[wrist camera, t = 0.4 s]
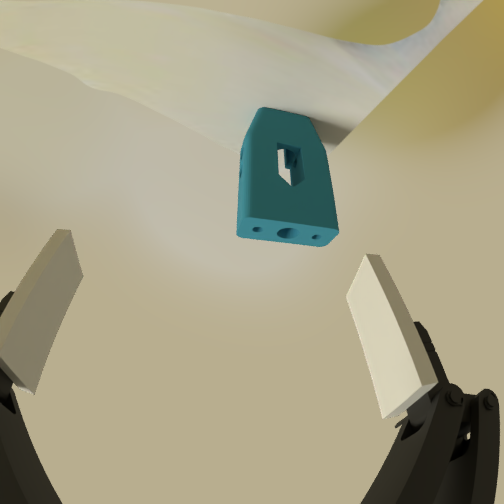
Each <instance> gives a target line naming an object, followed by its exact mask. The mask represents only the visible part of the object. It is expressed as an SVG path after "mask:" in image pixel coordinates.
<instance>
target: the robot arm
mask: <svg viewBox="0 0 504 504" xmlns="http://www.w3.org/2000/svg"><path fill="white" fill-rule="evenodd" d="M82 278H83V273H82V270H81V267H80V264H79V260H78V256H77V253H76V249H75V246H74V242H73V238H72V235H71V230H62V229H57V230H56V231H55V233H54V234H53V235H52V237H51V238H50V240H49V241H48V242H47V244H46V245H45V246H44V248H43V249H42V251H41V252H40V254H39V255H38V256H37V258H36V259H35V261H34V263H33V264H32V265H31V267H30V268H29V270H28V271H27V273H26V275H25V276H24V278H23V279H22V281H21V283H20V284H19V286H18V287H17V289H16V291H15V292H12V291H10V292H9V293H8V294H7V295H6V296H5V297H4V298H3V299H2V300H1V302H0V504H62V502H61V501H60V499H59V497H58V495H57V493H56V492H55V490H54V488H53V486H52V485H51V483H50V481H49V479H48V477H47V475H46V473H45V471H44V469H43V466H42V464H41V463H40V460H39V458H38V456H37V454H36V451H35V449H34V446H33V444H32V442H31V439H30V437H29V434H28V431H27V429H26V427H25V423H24V421H23V418H22V415H21V412H20V409H19V406H18V403H17V400H16V396H15V393H14V391H13V389H12V388H11V387H12V384H13V383H14V384H15V385H16V386H17V387H18V388H19V389H20V390H23V391H26V392H28V393H31V394H34V395H35V392H36V388H37V385H38V382H39V380H40V376H41V374H42V371H43V368H44V365H45V363H46V360H47V357H48V355H49V352H50V349H51V347H52V344H53V342H54V339H55V337H56V334H57V332H58V330H59V327H60V325H61V323H62V320H63V318H64V316H65V314H66V311H67V309H68V307H69V305H70V303H71V301H72V298H73V296H74V294H75V292H76V290H77V288H78V286H79V284H80V282H81V280H82ZM346 299H347V301H348V304H349V307H350V310H351V313H352V316H353V319H354V322H355V325H356V328H357V332H358V335H359V338H360V341H361V344H362V347H363V351H364V354H365V357H366V360H367V364H368V367H369V371H370V374H371V378H372V381H373V385H374V389H375V392H376V396H377V399H378V403H379V407H380V411H381V415H382V419H386V418H391V417H395V416H399V415H400V414H401V413H403V412H404V411H405V410H407V413H408V416H406V417H405V418H404V419H402V420H401V421H400V422H398V423H397V424H396V426H395V428H397V427H399V426H400V425H402V426H401V428H400V431H399V433H398V435H397V437H396V439H395V442H394V444H393V446H392V448H391V450H390V452H389V454H388V456H387V458H386V460H385V462H384V464H383V466H382V468H381V470H380V471H379V473H378V475H377V477H376V478H375V480H374V482H373V484H372V485H371V487H370V489H369V491H368V492H367V494H366V496H365V497H364V499H363V501H362V502H361V504H494V501H495V493H496V486H497V477H498V466H499V446H500V419H499V418H500V416H499V403H498V399H497V396H496V394H495V393H494V392H493V391H491V390H490V389H484V390H482V391H481V392H480V393H478V394H477V395H470V394H464V393H463V392H462V390H461V389H460V388H459V387H458V386H457V385H455V384H452V383H451V384H450V383H449V381H448V379H447V377H446V374H445V371H444V369H443V366H442V364H441V362H440V359H439V357H438V354H437V352H435V348H434V345H433V344H432V343H431V342H432V341H431V339H430V337H429V334H428V332H427V330H426V329H425V328H424V327H423V326H422V325H421V323H420V322H413V320H412V318H411V316H410V314H409V312H408V310H407V308H406V306H405V304H404V302H403V299H402V297H401V295H400V293H399V291H398V289H397V287H396V285H395V283H394V282H393V280H392V278H391V276H390V274H389V272H388V270H387V268H386V266H385V264H384V263H383V261H382V259H381V257H380V255H373V254H365V256H364V258H363V260H362V263H361V265H360V267H359V269H358V272H357V274H356V276H355V278H354V281H353V283H352V285H351V287H350V289H349V291H348V293H347V295H346ZM469 432H470V439H467V434H468V433H469Z"/></svg>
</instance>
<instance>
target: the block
mask: <svg viewBox="0 0 504 504" xmlns="http://www.w3.org/2000/svg"><path fill="white" fill-rule="evenodd" d="M279 149H284V159H285V168H286V169H290V177H291V185H289V184H288V183H287V182H286V181H285V180H284V179H283V178H282V177H281V176H280V175H279V171H278V152H277V150H279ZM338 233H339V228H338V221H337V214H336V208H335V201H334V195H333V188H332V182H331V176H330V171H329V165H328V160H327V154H326V150H325V148H324V146H323V144H322V142H321V140H320V138H319V136H318V134H317V132H316V130H315V128H314V126H313V125H312V123H311V121H310V119H309V118H308V117H306V116H303V115H298V114H294V113H290V112H285V111H281V110H276V109H271V108H266V107H262V108H259V109H258V111H257V113H256V115H255V117H254V119H253V121H252V123H251V125H250V127H249V129H248V131H247V133H246V136H245V138H244V141H243V145H242V148H241V153H240V172H239V191H238V212H237V236H239V237H241V238H250V239H257V240H267V241H275V242H284V243H292V244H300V245H309V246H316V247H322V246H326V245H327V244H328V243H330V241H331V240H333V239H334V238H335V236H337V235H338Z"/></svg>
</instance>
